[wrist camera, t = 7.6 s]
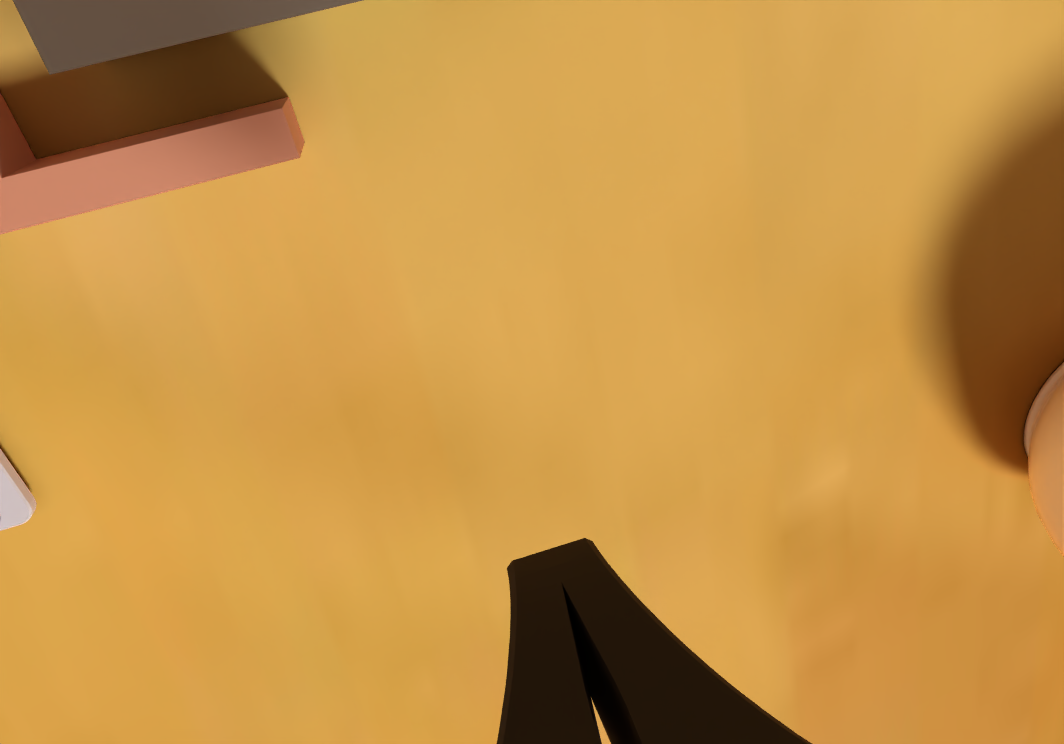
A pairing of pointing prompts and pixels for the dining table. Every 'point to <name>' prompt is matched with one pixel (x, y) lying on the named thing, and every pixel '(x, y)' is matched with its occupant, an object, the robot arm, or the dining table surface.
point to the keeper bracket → (138, 162)
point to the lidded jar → (1048, 455)
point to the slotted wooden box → (142, 24)
